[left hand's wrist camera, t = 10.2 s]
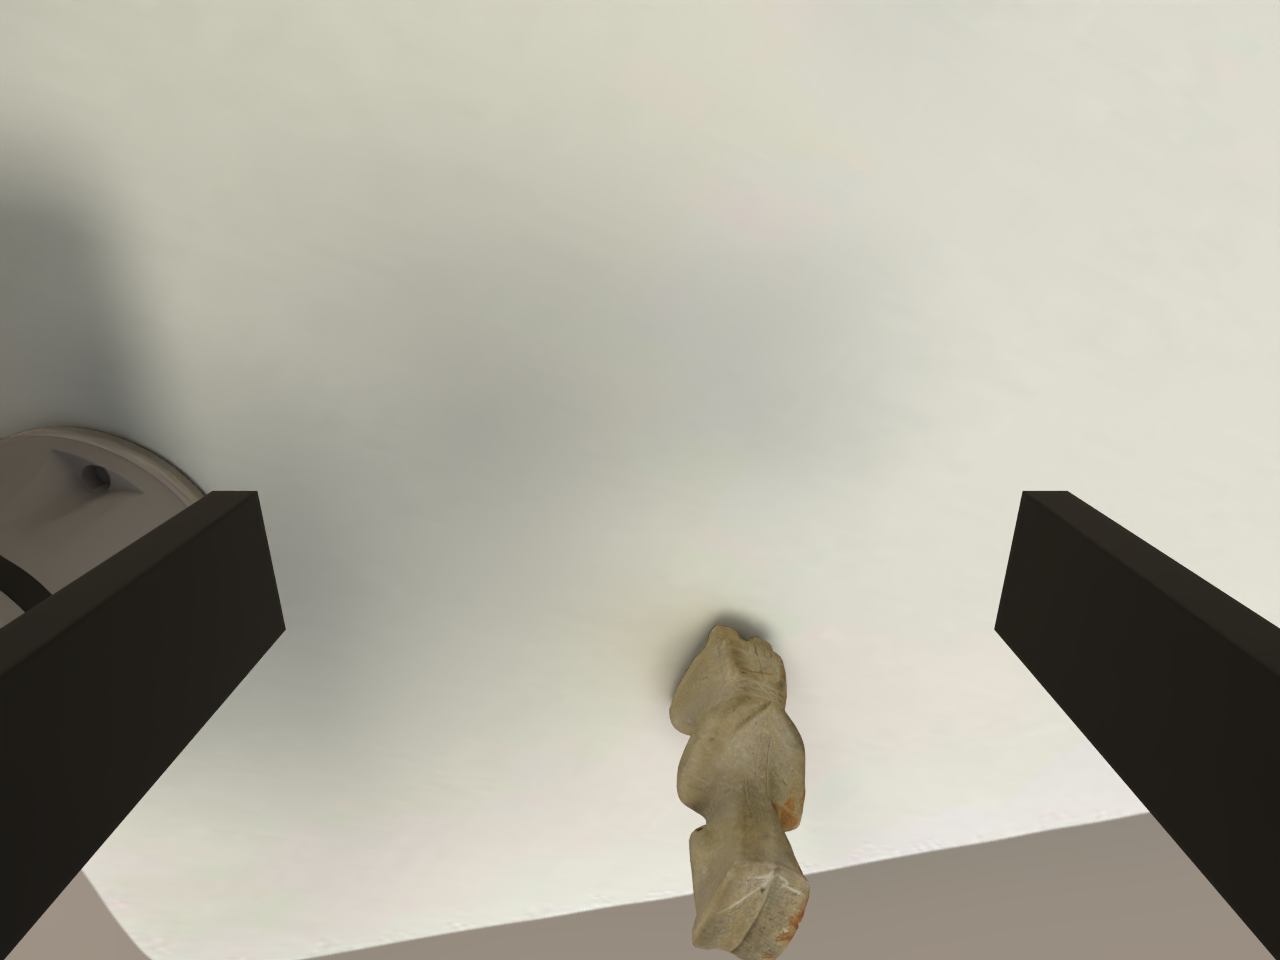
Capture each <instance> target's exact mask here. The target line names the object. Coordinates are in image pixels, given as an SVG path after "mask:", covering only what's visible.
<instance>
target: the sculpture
mask: <svg viewBox="0 0 1280 960" xmlns="http://www.w3.org/2000/svg"><path fill="white" fill-rule="evenodd" d="M786 698H787V685H786V674H785V669H784V665H783V661H782V659H781V657H780V656H779V655H778V654H776V653H775V652H773V650H772V647H771V645H770V644H769V643H768V642H766V641H764V640H762V639H759V638H757V637H752V638H750V639H748V641H746V640H743V639H742V638H741V637H740V636H739V635H738V633H737V632H736V631H735V630H734V629H732V628H729V627H725V626H720V625H717V626H715V627H714V628H713V629H712V631H711V632H710V634H709V637H708V642H707V644H706V646H705V648H704V649H703V650H702V651H701V652H700V654H699V655H697V657H696V658H695V659H694V660H693V662H692V663H691V665H690V667H689V668H688V670H687V671H686V673H685V675H684V676H683V678H682V680H681V682H680V684H679V685H678V687H677V690H676V692H675V695H674V697H673V700H672V703H671V706H670V709H669V714H670V720H671V723H672V725H673V726H674V727H675V729H677V730H678V731H679V732H681V733H684V734H686V735H691V737H690V739H689V741H688V743H687V745H686V747H685V750H684V752H683V754H682V757H681V760H680V762H679V766H678V773H677V792H678V796H679V798H680V800H681V802H682V803H683V804H685V805H686V806H687V807H689V808H690V809H692V810H694V811H695V812H697V813H698V814H700V815H702V816H703V817H704V818H705V819H706V825H704V826H701V827H699V828H697V829H695V830H694V831H693V832H692V834H691V836H690V839H689V849H690V862H691V870H692V880H693V891H694V900H695V907H696V914H697V915H696V918H695V922H694V926H693V930H692V944H693V945H694V946H695V947H696V948H700V949H720V950H725V951H728V952H730V953H732V954H733V955H735V956H737V957H739V958H740V959H743V960H775V959H776V958H777V957H778V956H779V955H781V953H782V952H783V951H784V950H785V949H786V948H787V946H788V944H789V943H790V941H791V939H792V938H793V936H794V934H795V932H796V931H797V929H798V927H799V926H800V923H801V921H802V918H803V915H804V912H805V908H806V905H807V902H808V898H809V882H808V880H807V879H806V877H805V876H804V875H803V873H802V871H801V869H800V867H799V865H798V862H797V860H796V858H795V856H794V853H793V850H792V847H791V845H790V843H789V841H788V839H787V837H786V834H785V832H787V831H791V830H794V829H796V828H797V827H798V826H799V825H800V821H801V817H802V812H803V804H804V799H805V749H804V744H803V741H802V738H801V736H800V734H799V732H798V730H797V728H796V726H795V725H794V723H793V722H792V720H791V719H790V718H789V716H788V715H787V713H786V712H785V704H786Z"/></svg>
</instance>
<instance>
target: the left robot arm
mask: <svg viewBox="0 0 1280 960" xmlns="http://www.w3.org/2000/svg"><path fill="white" fill-rule="evenodd" d="M285 630H286V628H285V623H284V619H283V614H282V609H281V604H280V599H279V594H278V589H277V585H276V580H275V575H274V570H273V565H272V560H271V555H270V551H269V546H268V541H267V536H266V531H265V526H264V521H263V517H262V512H261V507H260V502H259V497H258V492H257V491H212V492H210V493H209V494H207V495H206V496H204V495H203V494H202V493H201V492H200V491H199V490H198V489H197V488H196V487H195V486H194V485H193V484H192V482H191V481H190V480H188V479H187V478H186V477H185V476H184V475H183V474H181V473H180V472H179V471H178V470H177V469H175V468H174V467H173V466H171V465H170V464H168V463H167V462H166V461H164V460H163V459H161V458H160V457H158V456H156V455H155V454H153V453H152V452H150V451H148V450H146V449H144V448H142V447H140V446H138V445H136V444H134V443H131V442H129V441H127V440H124V439H122V438H119V437H116V436H113V435H110V434H107V433H103V432H99V431H95V430H90V429H84V428H77V427H44V428H36V429H31V430H27V431H23V432H20V433H17V434H14V435H11V436H8V437H5V438H2V439H0V960H4V959H5V958H6V957H7V956H8V954H9V953H10V952H11V951H12V950H13V949H14V947H15V946H16V945H17V944H18V943H19V941H20V940H21V939H22V938H23V937H24V936H25V934H26V933H27V932H28V931H29V930H30V929H31V927H32V926H33V925H34V924H35V923H36V922H37V920H38V919H39V918H40V917H41V916H42V915H43V913H44V912H45V911H46V910H47V909H48V908H49V906H50V905H51V904H52V903H53V902H54V901H55V899H56V898H57V897H58V896H59V895H60V893H61V892H62V891H63V890H64V889H65V888H66V886H67V885H68V884H69V883H70V882H71V881H72V879H73V878H74V877H75V876H76V875H77V873H78V872H79V871H80V870H81V869H82V868H83V867H84V865H85V864H86V863H87V862H88V861H89V859H90V858H91V857H92V856H93V855H94V854H95V852H96V851H97V850H98V849H99V848H100V847H101V845H102V844H103V843H104V842H105V841H106V840H107V838H108V837H109V836H110V835H111V834H112V833H113V831H114V830H115V829H116V828H117V827H118V825H119V824H120V823H121V822H122V821H123V820H124V818H125V817H126V816H127V815H128V814H129V813H130V811H131V810H132V809H133V808H134V807H135V806H136V804H137V803H138V802H139V801H140V800H141V799H142V797H143V796H144V795H145V794H146V793H147V791H148V790H149V789H150V788H151V787H152V786H153V784H154V783H155V782H156V781H157V780H158V779H159V777H160V776H161V775H162V774H163V773H164V772H165V770H166V769H167V768H168V767H169V766H170V765H171V763H172V762H173V761H174V760H175V759H176V757H177V756H178V755H179V754H180V753H181V752H182V750H183V749H184V748H185V747H186V746H187V745H188V743H189V742H190V741H191V740H192V739H193V738H194V736H195V735H196V734H197V733H198V732H199V731H200V729H201V728H202V727H203V726H204V725H205V723H206V722H207V721H208V720H209V719H210V718H211V716H212V715H213V714H214V713H215V712H216V711H217V709H218V708H219V707H220V706H221V705H222V704H223V702H224V701H225V700H226V699H227V698H228V697H229V695H230V694H231V693H232V692H233V691H234V689H235V688H236V687H237V686H238V685H239V684H240V682H241V681H242V680H243V679H244V678H245V677H246V675H247V674H248V673H249V672H250V671H251V670H252V668H253V667H254V666H255V665H256V664H257V663H258V661H259V660H260V659H261V658H262V657H263V655H264V654H265V653H266V652H267V651H268V650H269V648H270V647H271V646H272V645H273V644H274V643H275V641H276V640H277V639H278V638H279V637H280V636H281V634H282V633H283V632H284V631H285ZM994 630H995V631H996V632H997V633H998V634H999V636H1000V637H1001V638H1002V639H1003V640H1004V641H1005V643H1006V644H1007V645H1008V646H1009V647H1010V648H1011V650H1012V651H1013V652H1014V653H1015V654H1016V655H1017V657H1018V658H1019V659H1020V660H1021V661H1022V663H1023V664H1024V665H1025V666H1026V667H1027V668H1028V670H1029V671H1030V672H1031V673H1032V674H1033V675H1034V677H1035V678H1036V679H1037V680H1038V681H1039V682H1040V684H1041V685H1042V686H1043V687H1044V688H1045V689H1046V691H1047V692H1048V693H1049V694H1050V695H1051V697H1052V698H1053V699H1054V700H1055V701H1056V702H1057V704H1058V705H1059V706H1060V707H1061V708H1062V709H1063V711H1064V712H1065V713H1066V714H1067V715H1068V716H1069V718H1070V719H1071V720H1072V721H1073V722H1074V723H1075V725H1076V726H1077V727H1078V728H1079V729H1080V731H1081V732H1082V733H1083V734H1084V735H1085V736H1086V738H1087V739H1088V740H1089V741H1090V742H1091V743H1092V745H1093V746H1094V747H1095V748H1096V749H1097V750H1098V752H1099V753H1100V754H1101V755H1102V756H1103V757H1104V759H1105V760H1106V761H1107V762H1108V763H1109V765H1110V766H1111V767H1112V768H1113V769H1114V770H1115V772H1116V773H1117V774H1118V775H1119V776H1120V777H1121V779H1122V780H1123V781H1124V782H1125V783H1126V784H1127V786H1128V787H1129V788H1130V789H1131V790H1132V791H1133V793H1134V794H1135V795H1136V796H1137V797H1138V799H1139V800H1140V801H1141V802H1142V803H1143V804H1144V806H1145V807H1146V808H1147V809H1148V810H1149V811H1150V813H1151V814H1152V815H1153V816H1154V817H1155V818H1156V820H1157V821H1158V822H1159V823H1160V824H1161V825H1162V827H1163V828H1164V829H1165V830H1166V831H1167V833H1168V834H1169V835H1170V836H1171V837H1172V838H1173V840H1174V841H1175V842H1176V843H1177V844H1178V845H1179V847H1180V848H1181V849H1182V850H1183V851H1184V852H1185V854H1186V855H1187V856H1188V857H1189V858H1190V859H1191V861H1192V862H1193V863H1194V864H1195V865H1196V866H1197V868H1198V869H1199V870H1200V871H1201V872H1202V874H1203V875H1204V876H1205V877H1206V878H1207V879H1208V881H1209V882H1210V883H1211V884H1212V885H1213V886H1214V888H1215V889H1216V890H1217V891H1218V892H1219V893H1220V895H1221V896H1222V897H1223V898H1224V899H1225V900H1226V902H1227V903H1228V904H1229V905H1230V906H1231V908H1232V909H1233V910H1234V911H1235V912H1236V913H1237V915H1238V916H1239V917H1240V918H1241V919H1242V920H1243V922H1244V923H1245V924H1246V925H1247V926H1248V927H1249V929H1250V930H1251V931H1252V932H1253V933H1254V934H1255V936H1256V937H1257V938H1258V939H1259V940H1260V942H1261V943H1262V944H1263V945H1264V946H1265V947H1266V949H1267V950H1268V951H1269V952H1270V953H1271V954H1272V956H1273V957H1274V958H1275V959H1276V960H1280V628H1278V627H1277V626H1275V625H1274V624H1272V623H1270V622H1269V621H1267V620H1266V619H1264V618H1263V617H1261V616H1260V615H1258V614H1257V613H1255V612H1253V611H1252V610H1250V609H1249V608H1247V607H1246V606H1244V605H1243V604H1241V603H1240V602H1238V601H1237V600H1235V599H1233V598H1232V597H1230V596H1229V595H1227V594H1226V593H1224V592H1223V591H1221V590H1220V589H1218V588H1216V587H1215V586H1213V585H1212V584H1210V583H1209V582H1207V581H1206V580H1204V579H1203V578H1201V577H1199V576H1198V575H1196V574H1195V573H1193V572H1192V571H1190V570H1189V569H1187V568H1186V567H1184V566H1182V565H1181V564H1179V563H1178V562H1176V561H1175V560H1173V559H1172V558H1170V557H1169V556H1167V555H1165V554H1164V553H1162V552H1161V551H1159V550H1158V549H1156V548H1155V547H1153V546H1152V545H1150V544H1149V543H1147V542H1145V541H1144V540H1142V539H1141V538H1139V537H1138V536H1136V535H1135V534H1133V533H1132V532H1130V531H1128V530H1127V529H1125V528H1124V527H1122V526H1121V525H1119V524H1118V523H1116V522H1115V521H1113V520H1111V519H1110V518H1108V517H1107V516H1105V515H1104V514H1102V513H1101V512H1099V511H1098V510H1096V509H1094V508H1093V507H1091V506H1090V505H1088V504H1087V503H1085V502H1084V501H1082V500H1081V499H1079V498H1077V497H1076V496H1074V495H1073V494H1071V493H1070V492H1068V491H1023V492H1022V497H1021V502H1020V507H1019V512H1018V517H1017V521H1016V526H1015V531H1014V536H1013V541H1012V546H1011V551H1010V555H1009V560H1008V565H1007V570H1006V575H1005V580H1004V585H1003V589H1002V594H1001V599H1000V604H999V609H998V614H997V619H996V623H995V628H994Z"/></svg>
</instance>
